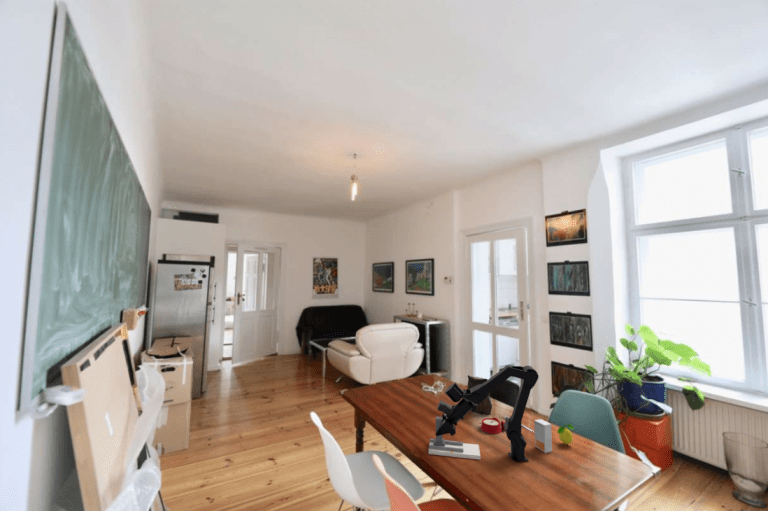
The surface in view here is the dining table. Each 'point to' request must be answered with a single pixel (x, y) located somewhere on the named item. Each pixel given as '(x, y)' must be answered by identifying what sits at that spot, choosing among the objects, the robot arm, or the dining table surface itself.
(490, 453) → the dining table surface
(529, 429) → the fork
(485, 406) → the owl
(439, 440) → the fader tab
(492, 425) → the alarm clock
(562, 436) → the lemon
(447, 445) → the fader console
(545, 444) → the skincare box
